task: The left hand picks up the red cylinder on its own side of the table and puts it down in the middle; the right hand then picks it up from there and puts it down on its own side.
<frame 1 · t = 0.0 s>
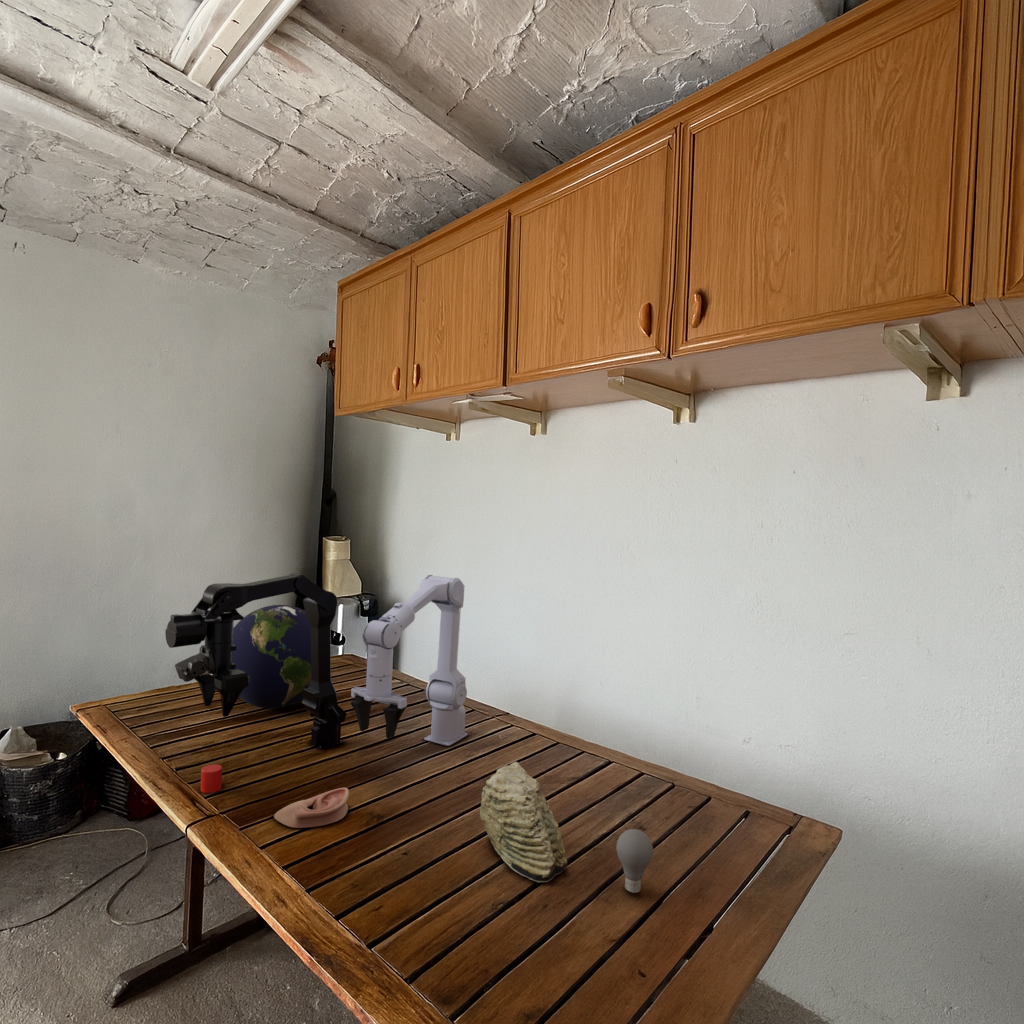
left hand: (216, 710, 141), 15 cm above the table, tool pointing down, fingers open, 9 cm apart
right hand: (377, 733, 144), 10 cm above the table, tool pointing down, fingers open, 7 cm apart
anatomical model: (311, 815, 126), on the table
light bulb: (632, 891, 106), on the table
fossil: (519, 856, 115), on the table
globe: (275, 706, 188), on the table
red cylinder: (211, 788, 135), on the table
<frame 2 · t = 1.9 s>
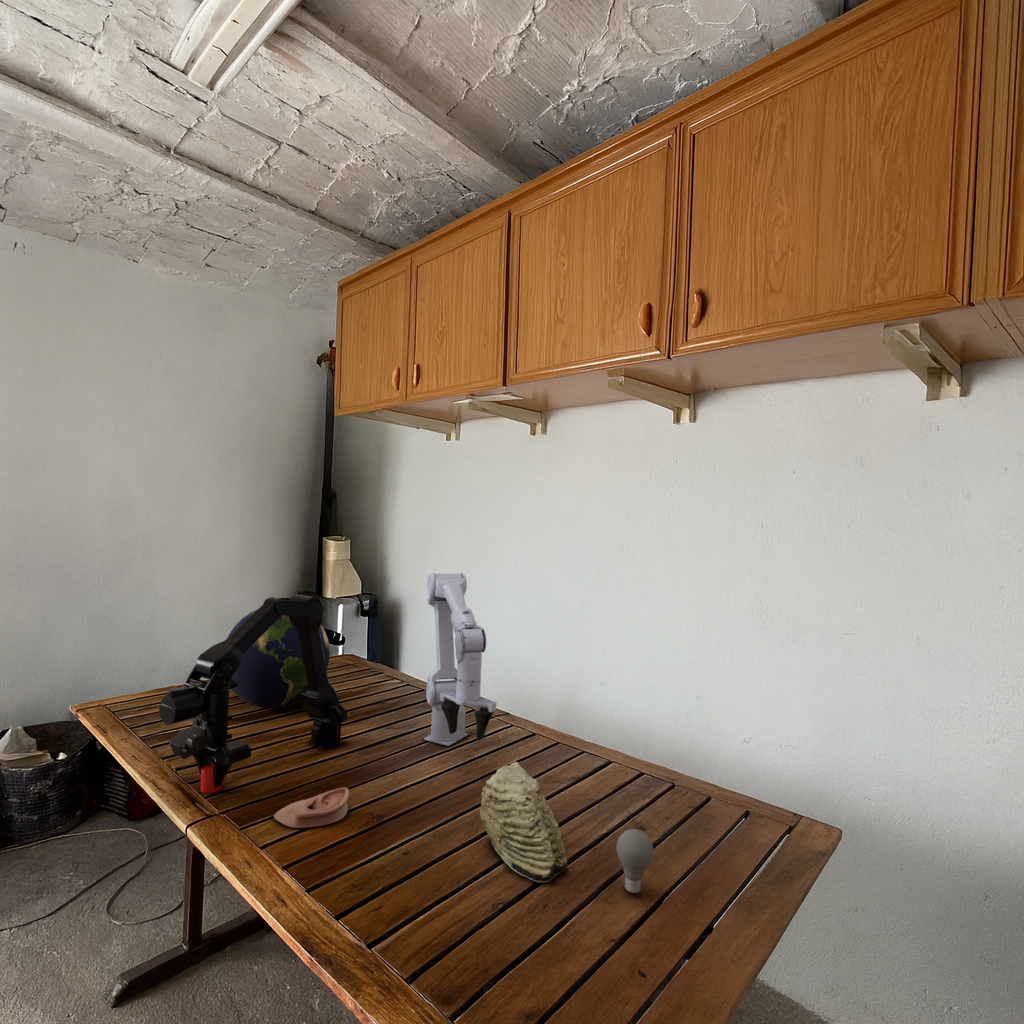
left hand: (211, 784, 135), 1 cm above the table, tool pointing down, fingers closed on red cylinder, 4 cm apart
right hand: (466, 735, 151), 8 cm above the table, tool pointing down, fingers open, 7 cm apart
red cylinder: (211, 788, 135), on the table, touching left hand
everything else where it was.
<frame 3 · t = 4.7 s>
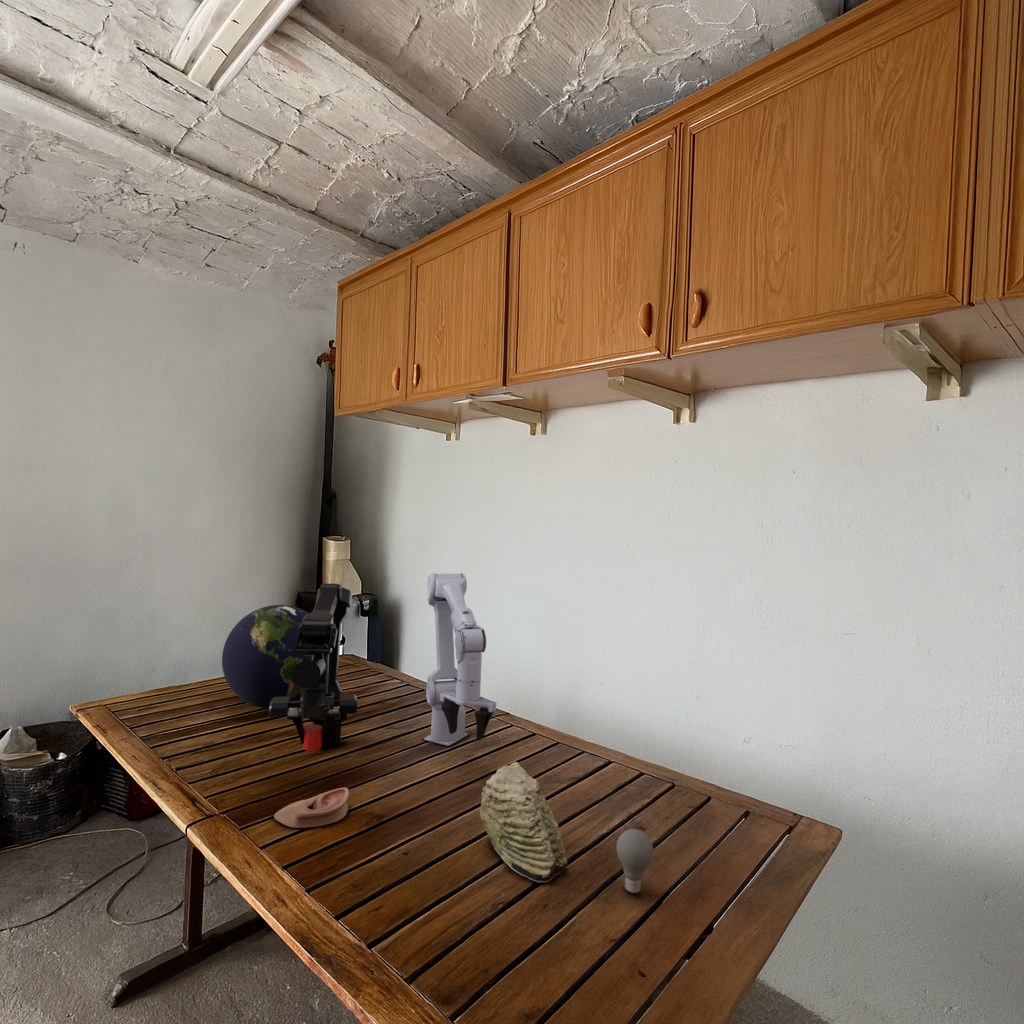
left hand: (312, 742, 143), 8 cm above the table, tool pointing down, fingers closed on red cylinder, 4 cm apart
right hand: (466, 735, 151), 8 cm above the table, tool pointing down, fingers open, 7 cm apart
red cylinder: (312, 747, 143), point 7 cm above the table, touching left hand
everything else where it was.
when the left hand's fingers open (2 cm above the table, at t = 7.4 s): red cylinder stays where it is, on the table.
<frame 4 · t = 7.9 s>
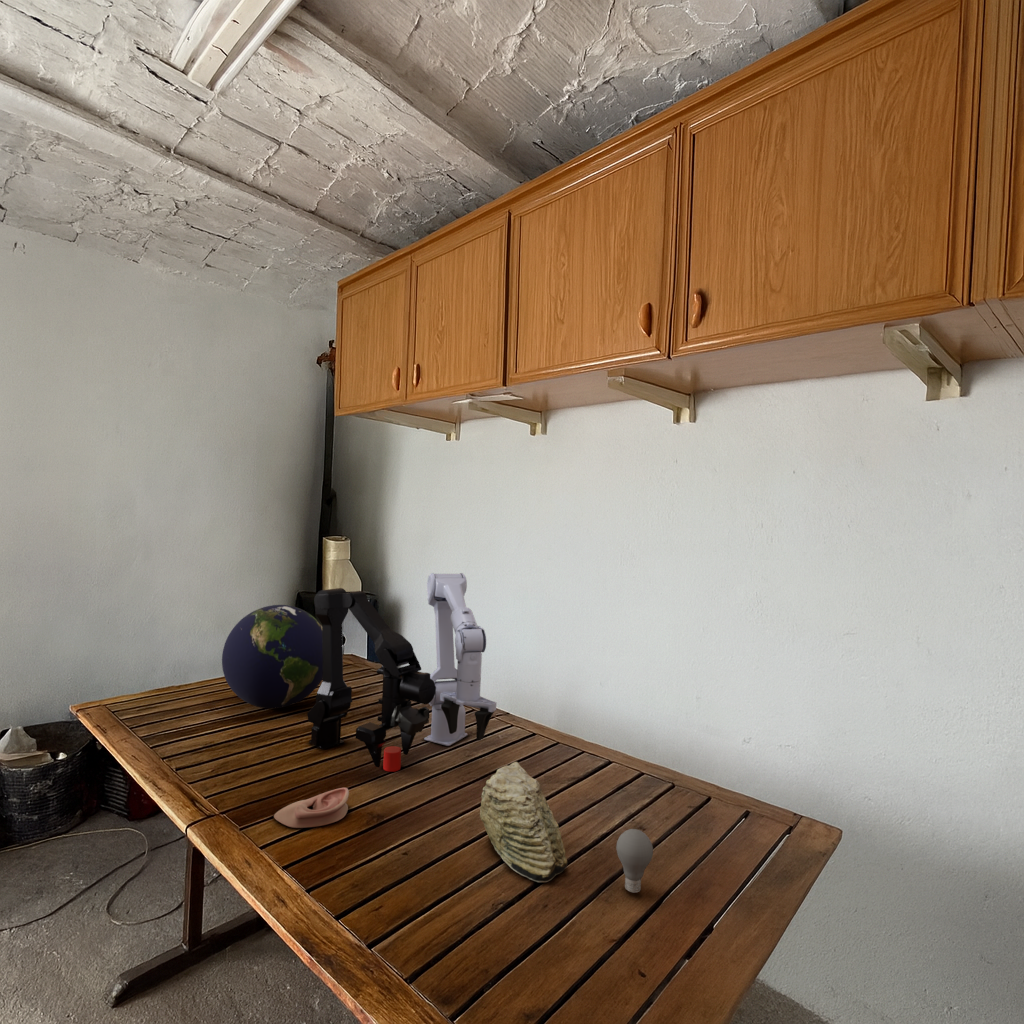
left hand: (391, 760, 149), 2 cm above the table, tool pointing down, fingers open, 9 cm apart
right hand: (466, 735, 151), 8 cm above the table, tool pointing down, fingers open, 7 cm apart
red cylinder: (391, 768, 149), on the table
everything else where it was.
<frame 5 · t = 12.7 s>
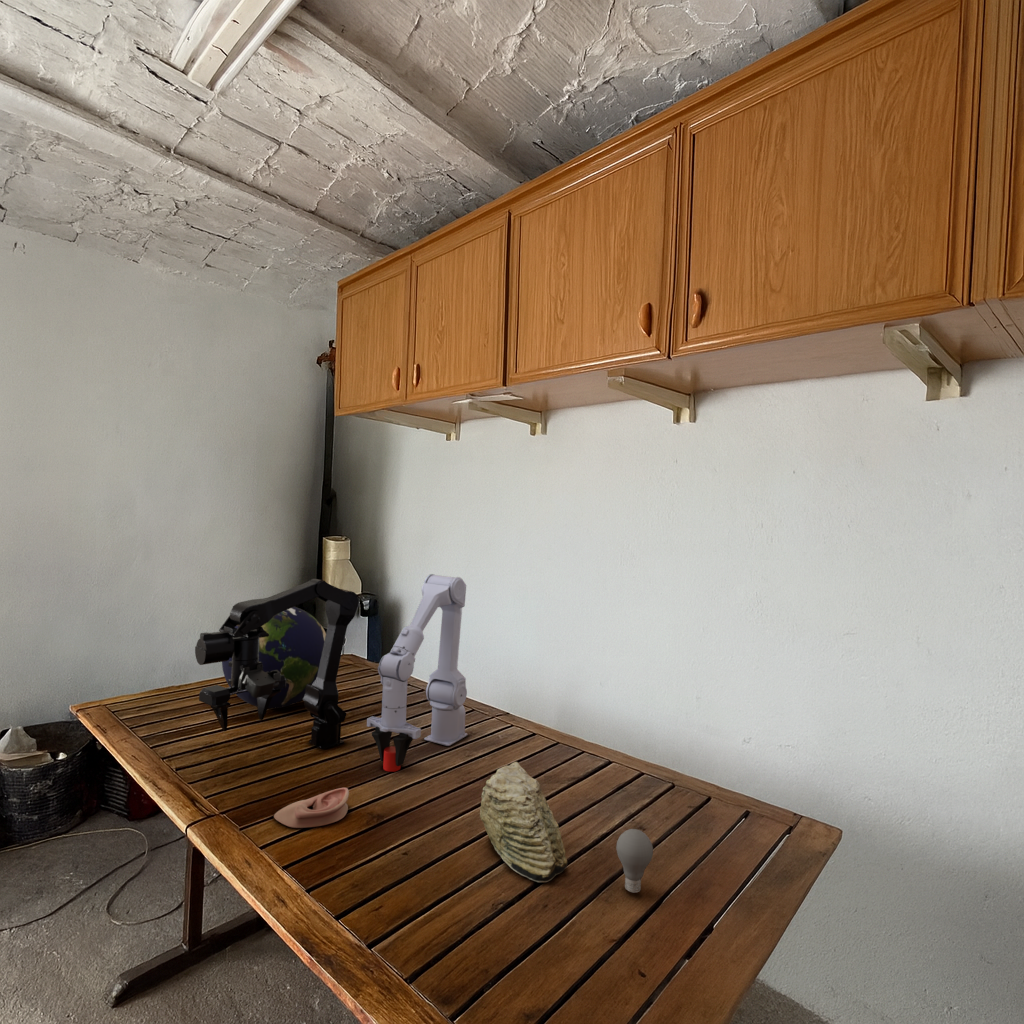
left hand: (243, 725, 146), 10 cm above the table, tool pointing down, fingers open, 9 cm apart
right hand: (392, 762, 149), 1 cm above the table, tool pointing down, fingers closed on red cylinder, 4 cm apart
red cylinder: (391, 768, 149), on the table, touching right hand
everything else where it was.
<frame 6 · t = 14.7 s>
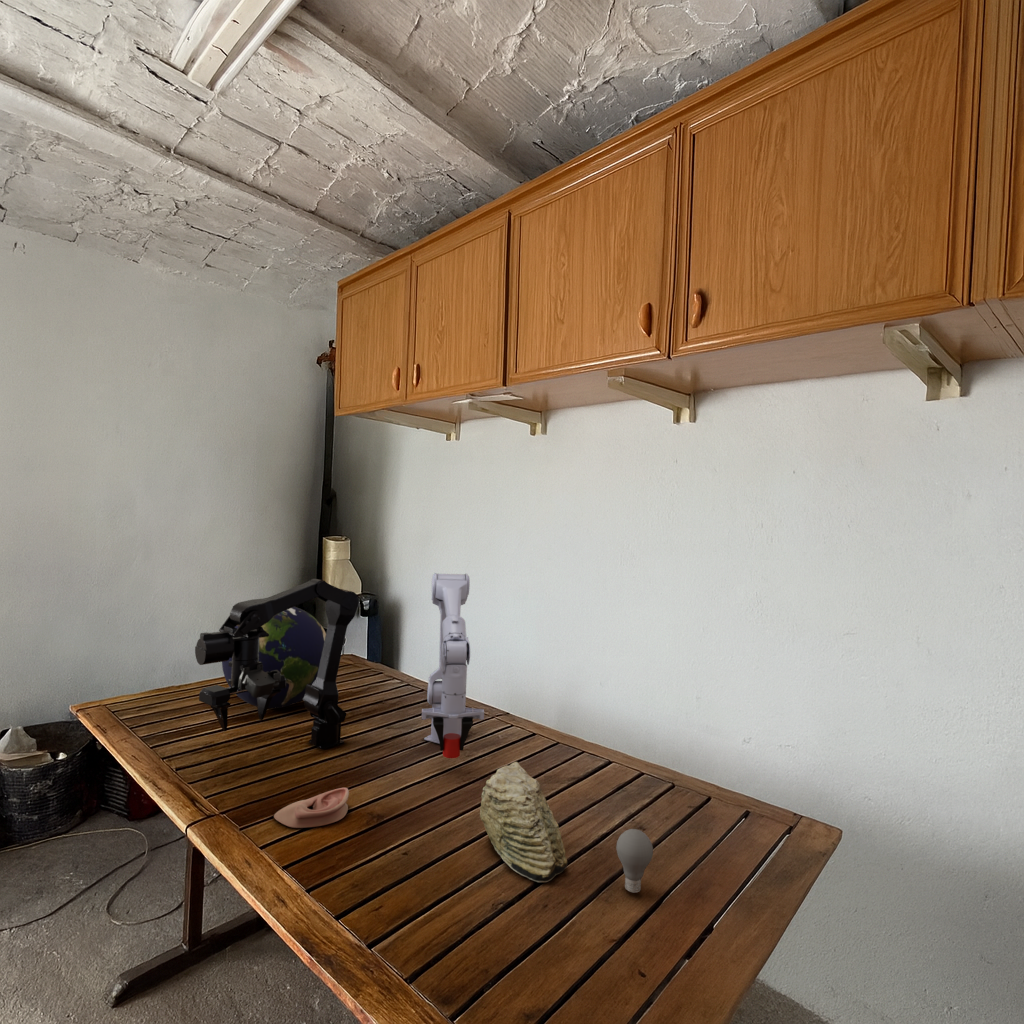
left hand: (243, 725, 146), 10 cm above the table, tool pointing down, fingers open, 9 cm apart
right hand: (451, 749, 149), 5 cm above the table, tool pointing down, fingers closed on red cylinder, 4 cm apart
red cylinder: (451, 754, 149), point 4 cm above the table, touching right hand
everything else where it was.
when the right hand's fingers open (2 cm above the table, at t = 16.7 s): red cylinder stays where it is, on the table.
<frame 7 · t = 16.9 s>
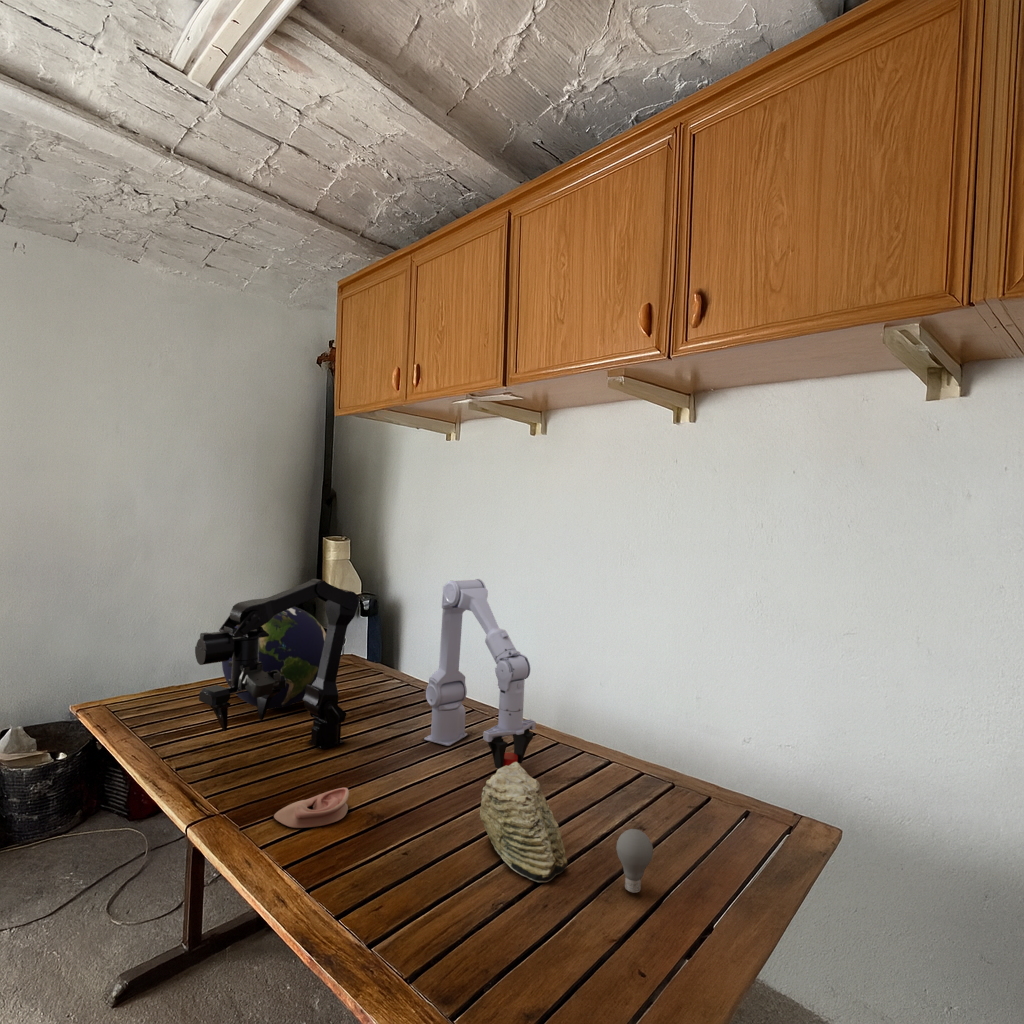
left hand: (243, 725, 146), 10 cm above the table, tool pointing down, fingers open, 9 cm apart
right hand: (508, 765, 149), 2 cm above the table, tool pointing down, fingers open, 5 cm apart
red cylinder: (508, 774, 149), on the table
everything else where it was.
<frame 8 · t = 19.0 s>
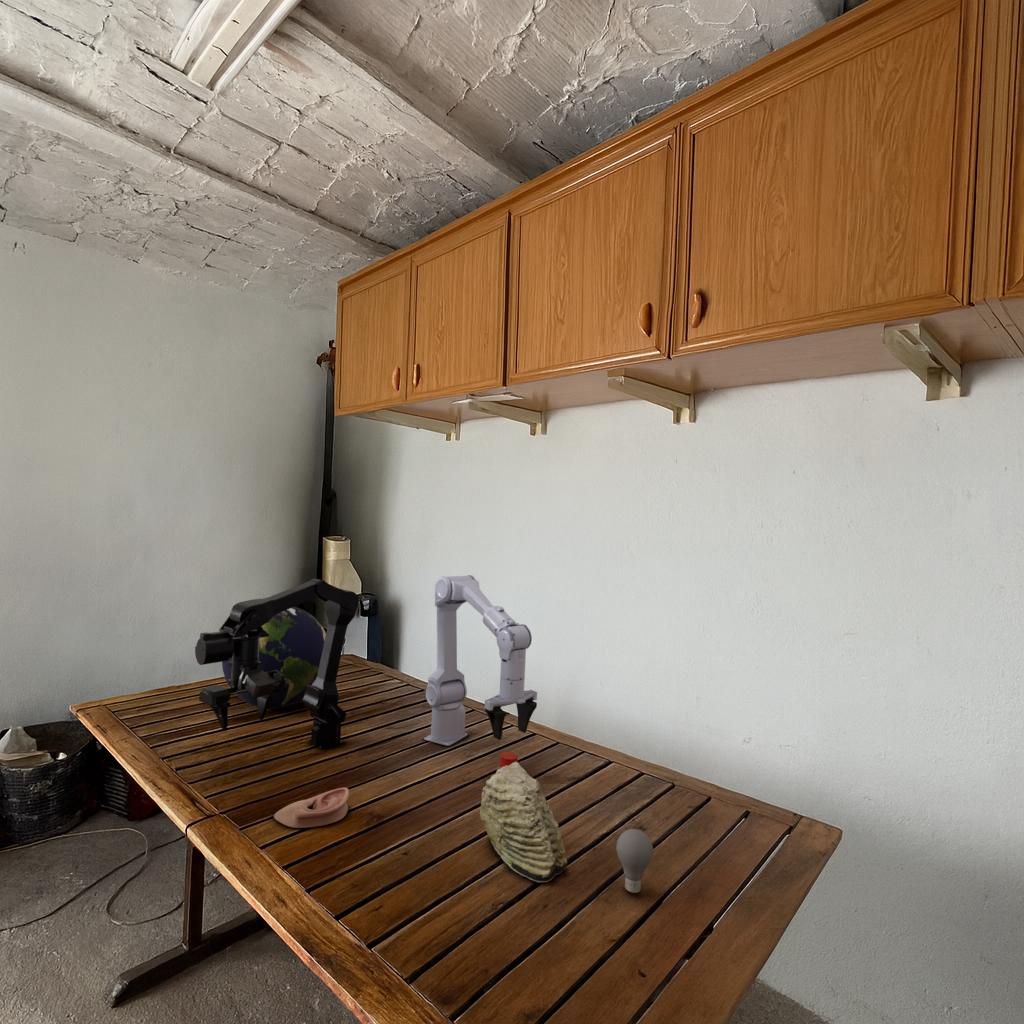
left hand: (243, 725, 146), 10 cm above the table, tool pointing down, fingers open, 9 cm apart
right hand: (509, 734, 149), 9 cm above the table, tool pointing down, fingers open, 7 cm apart
nothing on the table moved.
at the end: red cylinder inside the target area (0.0 cm from its centre), on the table; red cylinder tilted 0°; the two hands never held the red cylinder at the same time; the left hand is holding nothing; the right hand is holding nothing; red cylinder at rest at the end (0.0 cm/s) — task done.
